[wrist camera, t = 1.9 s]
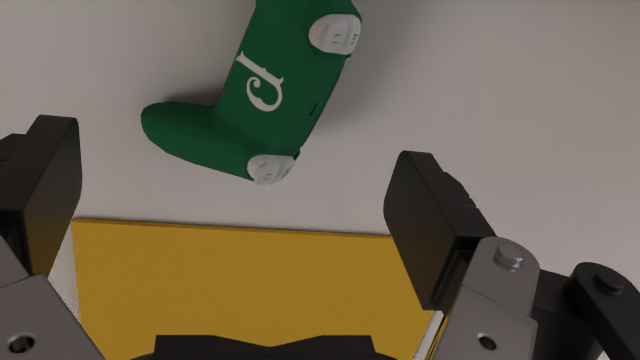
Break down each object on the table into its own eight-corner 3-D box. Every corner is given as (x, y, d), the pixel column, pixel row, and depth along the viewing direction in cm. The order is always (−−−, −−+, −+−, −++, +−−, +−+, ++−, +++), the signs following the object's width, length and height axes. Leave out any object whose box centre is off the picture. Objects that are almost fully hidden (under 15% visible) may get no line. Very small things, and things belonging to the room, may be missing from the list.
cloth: (463, 239, 27) (465, 243, 27) (395, 390, 35) (396, 394, 35) (72, 218, 23) (70, 221, 23) (89, 396, 30) (88, 401, 30)
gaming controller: (195, 121, 23) (288, 199, 21) (126, 130, 20) (228, 224, 18) (272, -81, 19) (396, -5, 17) (200, -110, 16) (344, -20, 14)
